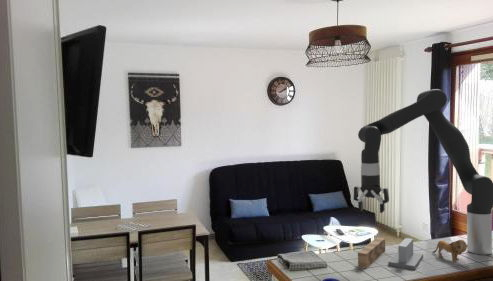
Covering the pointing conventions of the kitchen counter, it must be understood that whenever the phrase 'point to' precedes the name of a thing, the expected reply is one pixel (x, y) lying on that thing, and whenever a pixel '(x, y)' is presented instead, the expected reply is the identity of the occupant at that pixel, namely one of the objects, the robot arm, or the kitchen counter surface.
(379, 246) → the walnut bar
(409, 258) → the ridge stand
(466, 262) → the kitchen counter surface
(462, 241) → the lion figurine
